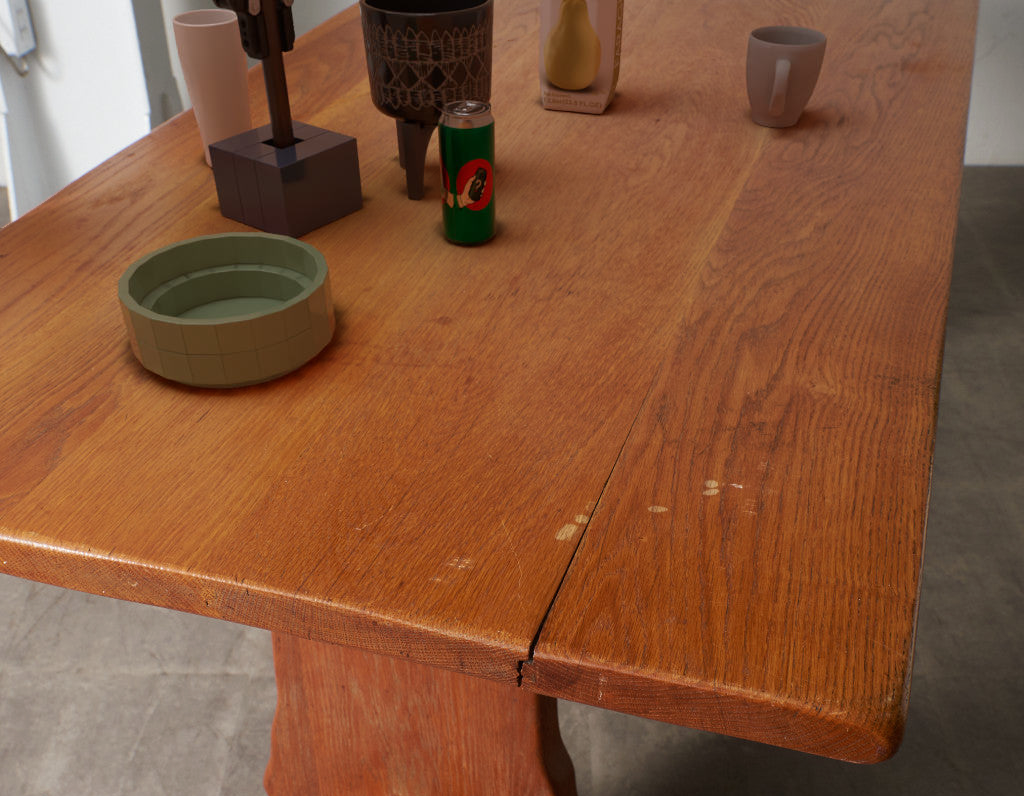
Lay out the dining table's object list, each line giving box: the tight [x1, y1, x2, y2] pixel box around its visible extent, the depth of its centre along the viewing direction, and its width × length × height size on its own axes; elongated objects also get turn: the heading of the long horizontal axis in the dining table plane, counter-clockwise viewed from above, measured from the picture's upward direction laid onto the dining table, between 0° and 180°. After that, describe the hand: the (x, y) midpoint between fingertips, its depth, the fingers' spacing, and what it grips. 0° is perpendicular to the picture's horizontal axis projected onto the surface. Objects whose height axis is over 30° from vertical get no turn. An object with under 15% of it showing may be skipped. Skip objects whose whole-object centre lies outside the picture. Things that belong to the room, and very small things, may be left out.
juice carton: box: [538, 0, 625, 115], centre depth 119 cm, size 9×8×24 cm
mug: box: [745, 25, 828, 128], centre depth 118 cm, size 12×9×10 cm
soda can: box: [437, 101, 497, 247], centre depth 93 cm, size 5×5×12 cm
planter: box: [358, 0, 495, 201], centre depth 102 cm, size 13×13×18 cm
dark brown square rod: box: [259, 0, 295, 150], centre depth 95 cm, size 2×2×20 cm
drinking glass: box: [172, 8, 253, 169], centre depth 107 cm, size 7×7×15 cm
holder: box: [208, 119, 364, 239], centre depth 99 cm, size 10×10×7 cm
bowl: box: [117, 231, 337, 389], centre depth 79 cm, size 16×16×6 cm
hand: (270, 53), depth 92 cm, fingers closed
